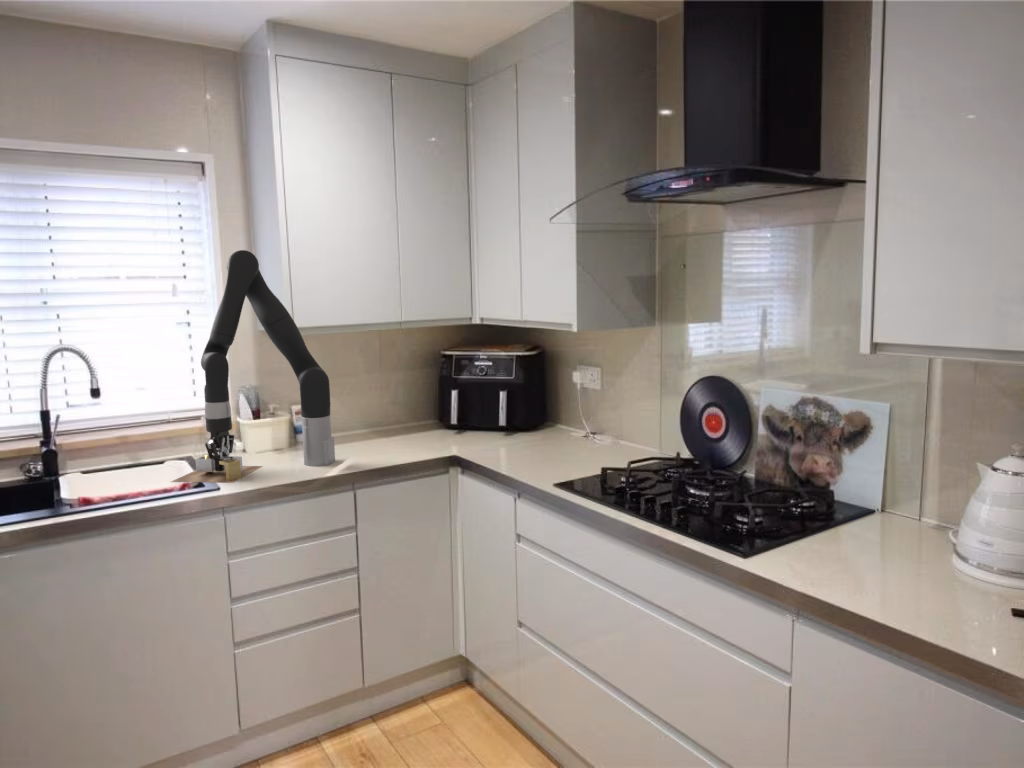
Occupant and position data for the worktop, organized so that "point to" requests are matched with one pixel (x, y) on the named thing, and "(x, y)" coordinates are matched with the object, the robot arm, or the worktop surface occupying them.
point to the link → (212, 463)
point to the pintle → (208, 458)
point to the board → (214, 476)
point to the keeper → (231, 468)
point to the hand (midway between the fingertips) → (222, 469)
